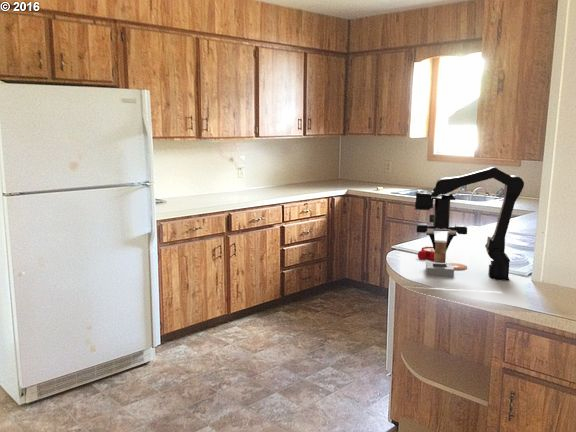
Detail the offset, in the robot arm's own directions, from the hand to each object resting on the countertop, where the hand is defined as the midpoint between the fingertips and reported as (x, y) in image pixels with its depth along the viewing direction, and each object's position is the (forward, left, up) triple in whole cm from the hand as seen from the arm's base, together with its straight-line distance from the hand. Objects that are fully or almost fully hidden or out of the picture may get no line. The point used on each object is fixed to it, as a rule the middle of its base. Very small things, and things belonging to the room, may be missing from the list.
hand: (440, 250), depth 206 cm
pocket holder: (0, 0, -10) cm, 10 cm away
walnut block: (0, 0, -4) cm, 4 cm away
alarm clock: (+2, -25, -10) cm, 27 cm away
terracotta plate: (-7, -10, -10) cm, 16 cm away
